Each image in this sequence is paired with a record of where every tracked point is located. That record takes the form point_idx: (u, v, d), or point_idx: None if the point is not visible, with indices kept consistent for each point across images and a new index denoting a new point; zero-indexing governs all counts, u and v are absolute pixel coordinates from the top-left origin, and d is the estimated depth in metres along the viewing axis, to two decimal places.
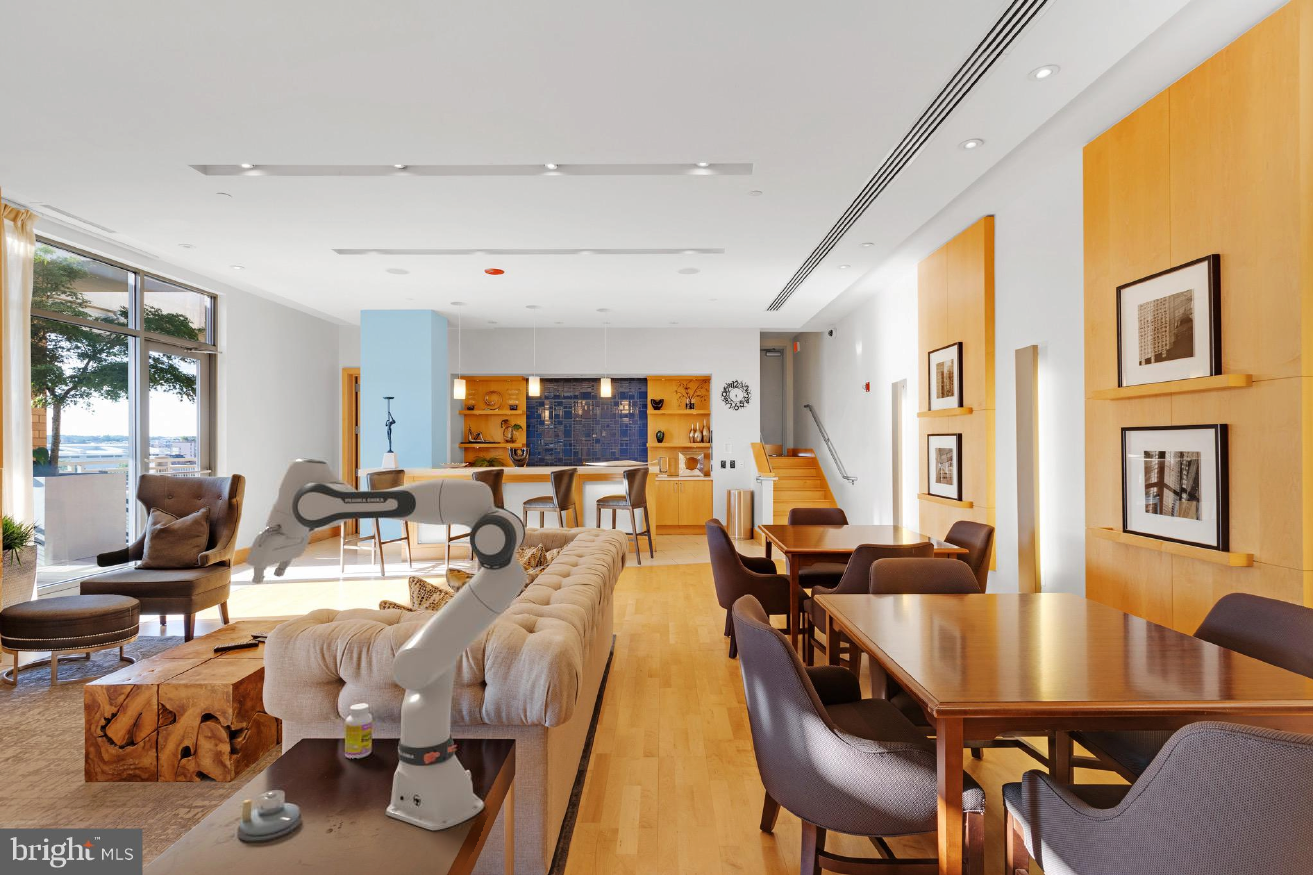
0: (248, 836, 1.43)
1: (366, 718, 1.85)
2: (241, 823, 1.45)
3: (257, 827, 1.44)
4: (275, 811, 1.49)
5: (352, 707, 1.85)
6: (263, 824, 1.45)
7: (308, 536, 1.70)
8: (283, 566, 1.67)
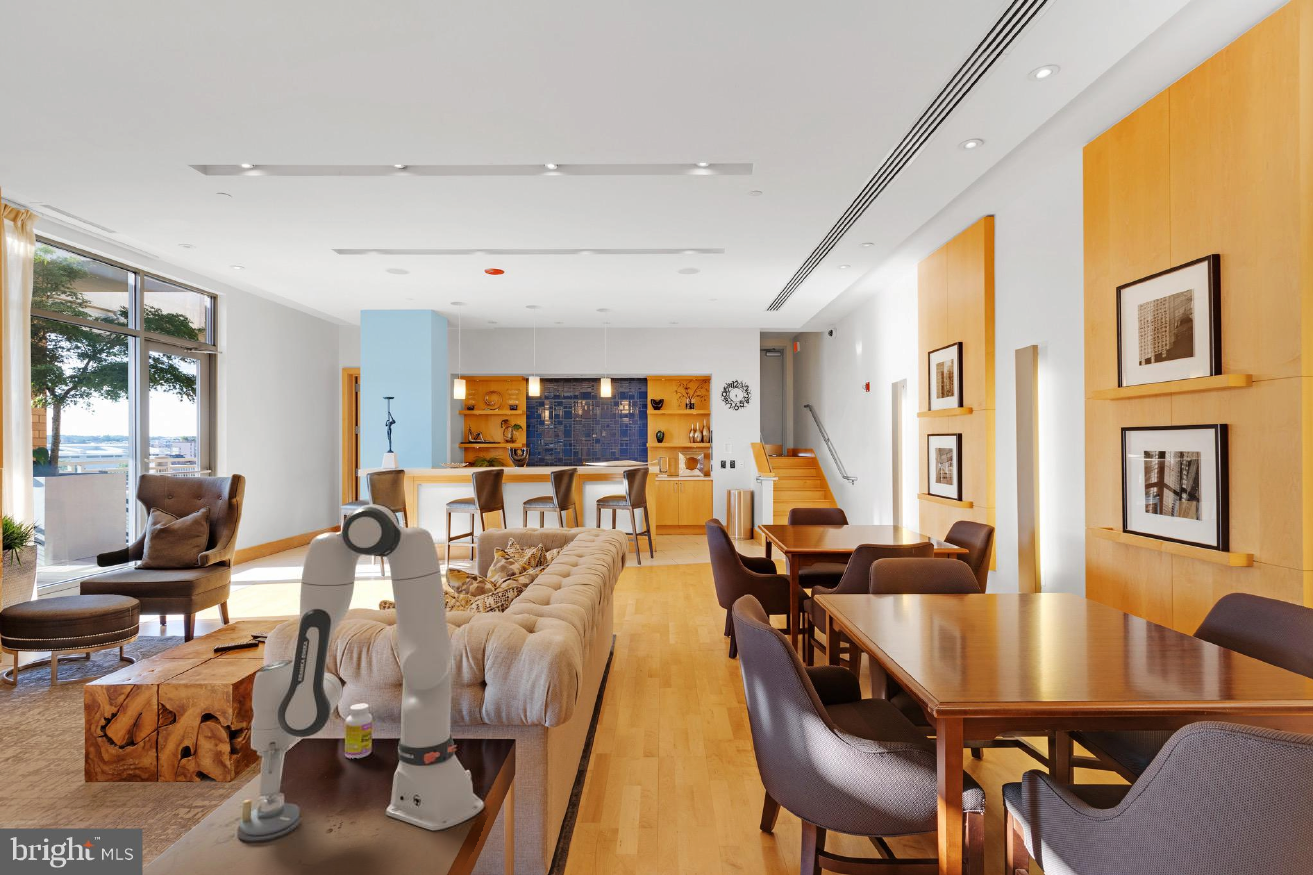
0: (248, 836, 1.43)
1: (366, 718, 1.85)
2: (241, 823, 1.45)
3: (257, 827, 1.44)
4: (274, 814, 1.48)
5: (352, 707, 1.85)
6: (263, 824, 1.45)
7: None
8: None
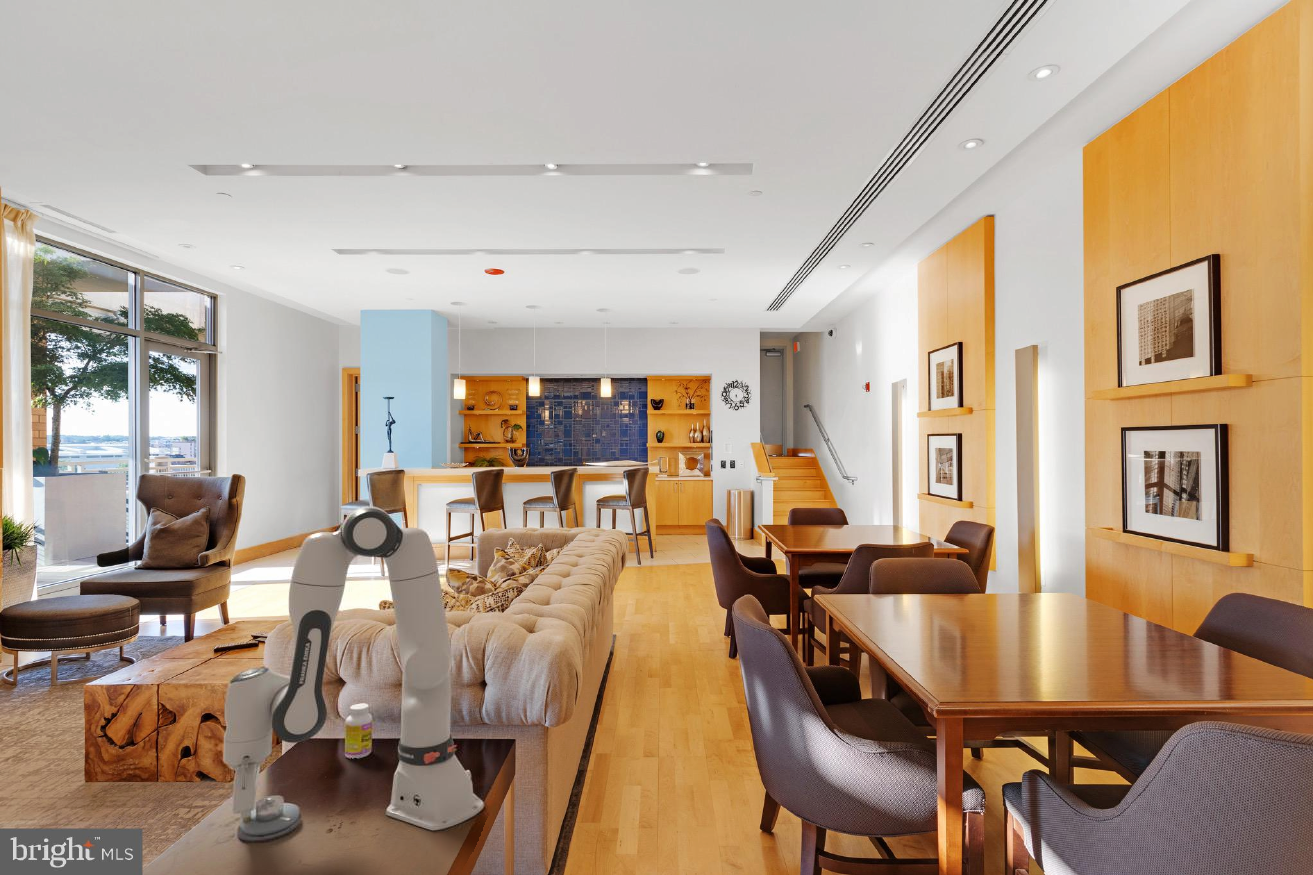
0: (248, 836, 1.43)
1: (366, 718, 1.85)
2: (241, 823, 1.45)
3: (257, 827, 1.44)
4: (274, 817, 1.46)
5: (352, 707, 1.85)
6: (263, 824, 1.45)
7: None
8: None
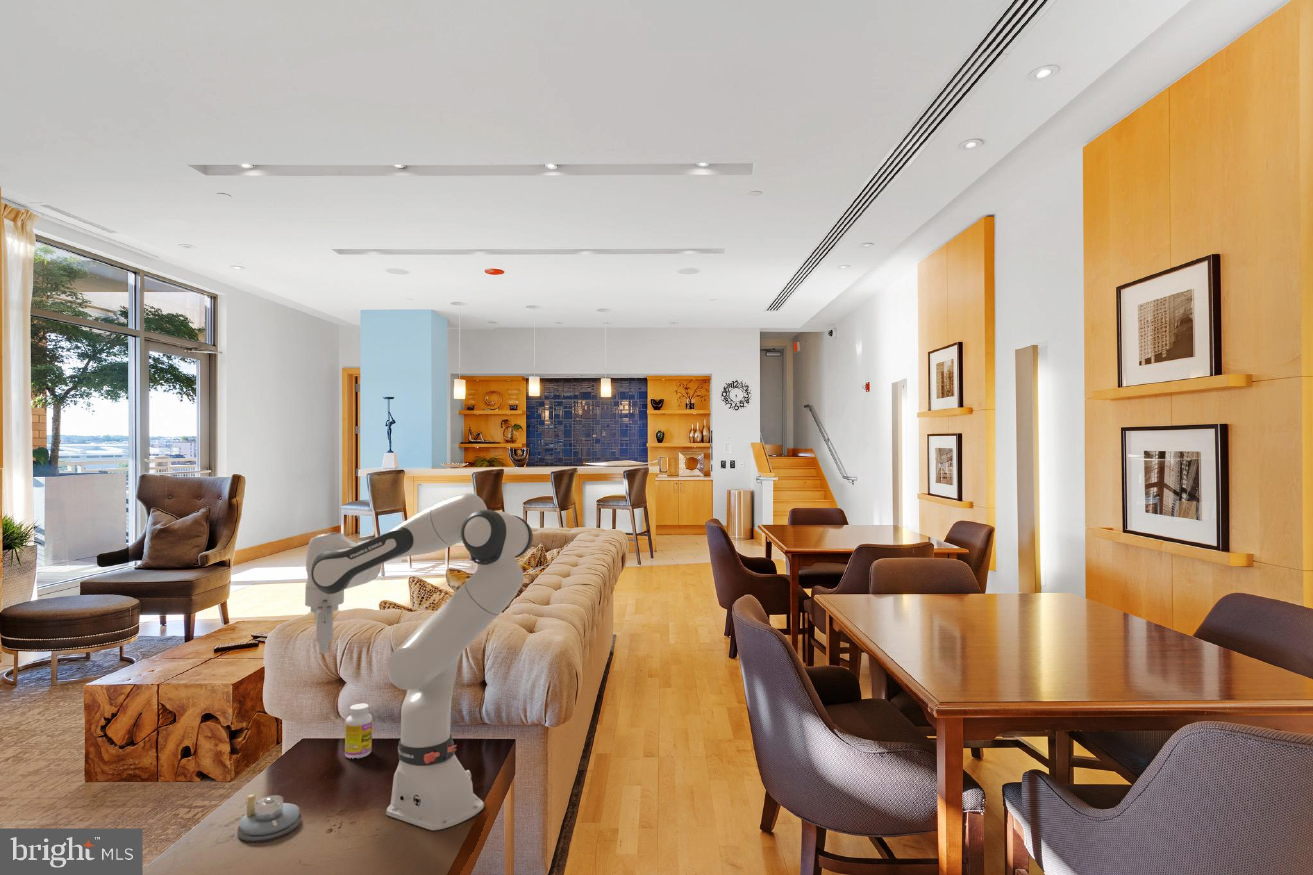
0: (248, 836, 1.43)
1: (366, 718, 1.85)
2: (244, 817, 1.48)
3: (247, 825, 1.44)
4: (266, 819, 1.46)
5: (352, 707, 1.85)
6: (254, 823, 1.45)
7: None
8: None
